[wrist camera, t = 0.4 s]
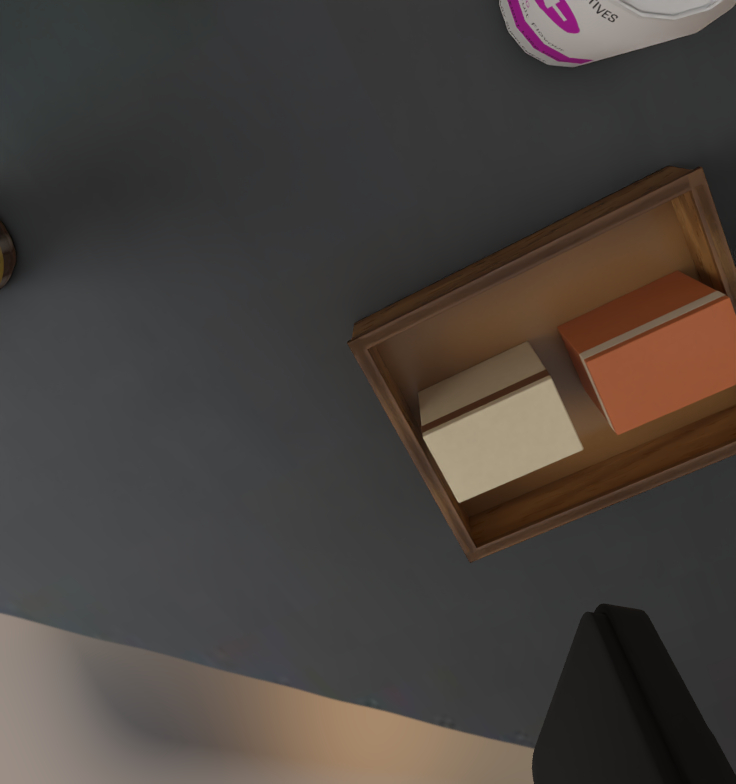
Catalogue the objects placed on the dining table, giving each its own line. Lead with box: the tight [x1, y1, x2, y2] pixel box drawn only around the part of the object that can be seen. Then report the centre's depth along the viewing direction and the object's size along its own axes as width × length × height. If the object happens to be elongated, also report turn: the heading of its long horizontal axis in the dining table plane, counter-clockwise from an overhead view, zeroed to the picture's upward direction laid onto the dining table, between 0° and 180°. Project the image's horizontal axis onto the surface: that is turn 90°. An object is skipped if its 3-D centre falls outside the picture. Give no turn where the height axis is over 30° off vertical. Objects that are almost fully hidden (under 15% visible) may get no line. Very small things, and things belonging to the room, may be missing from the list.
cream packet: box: [418, 341, 584, 503], centre depth 42 cm, size 5×8×7 cm, turn 118°
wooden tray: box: [348, 166, 736, 563], centre depth 43 cm, size 18×22×4 cm
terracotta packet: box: [557, 270, 736, 435], centre depth 41 cm, size 5×8×7 cm, turn 118°
